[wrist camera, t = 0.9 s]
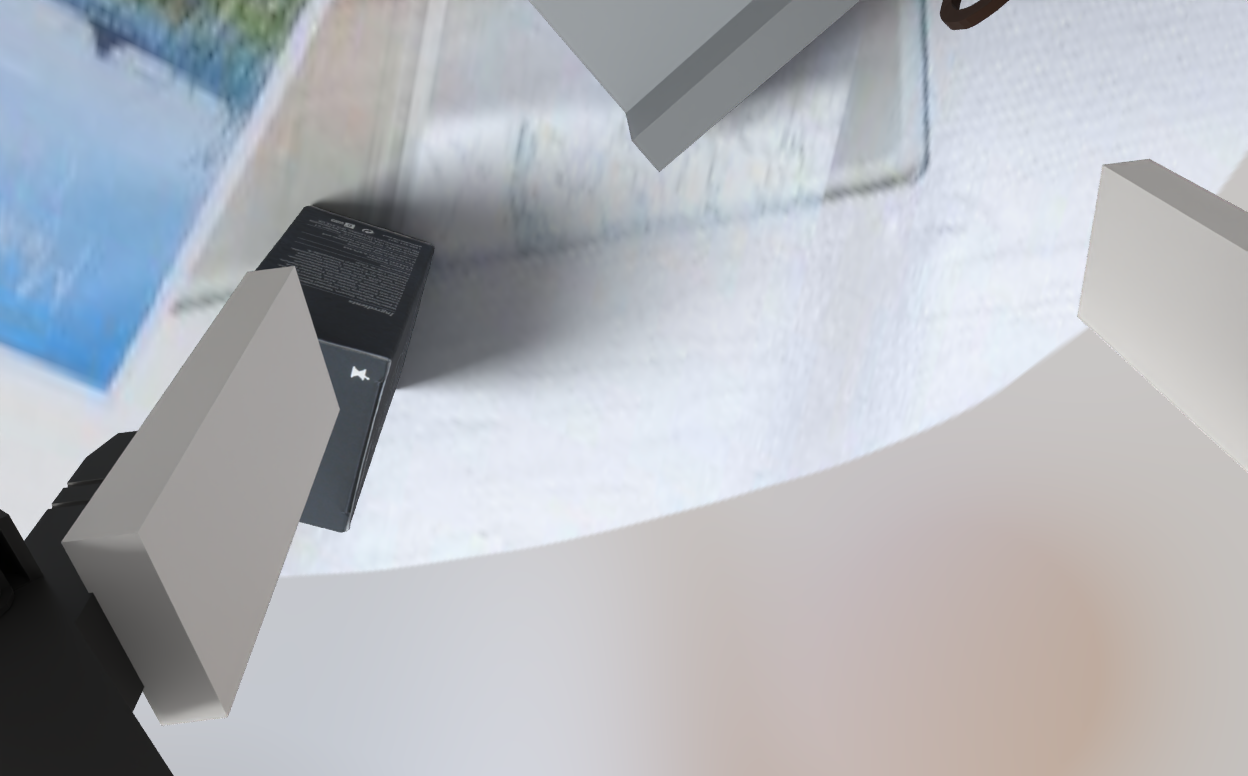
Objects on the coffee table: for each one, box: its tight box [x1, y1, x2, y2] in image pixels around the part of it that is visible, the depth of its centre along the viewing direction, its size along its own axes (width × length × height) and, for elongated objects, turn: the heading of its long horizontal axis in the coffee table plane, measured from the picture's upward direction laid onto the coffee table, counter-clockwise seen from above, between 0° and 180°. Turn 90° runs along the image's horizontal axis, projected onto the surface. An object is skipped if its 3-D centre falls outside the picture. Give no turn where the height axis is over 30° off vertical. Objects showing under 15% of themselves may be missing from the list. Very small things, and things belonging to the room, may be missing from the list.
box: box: [255, 206, 434, 532], centre depth 36 cm, size 8×6×11 cm
